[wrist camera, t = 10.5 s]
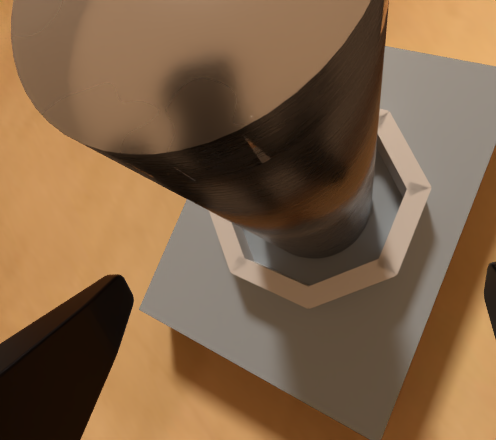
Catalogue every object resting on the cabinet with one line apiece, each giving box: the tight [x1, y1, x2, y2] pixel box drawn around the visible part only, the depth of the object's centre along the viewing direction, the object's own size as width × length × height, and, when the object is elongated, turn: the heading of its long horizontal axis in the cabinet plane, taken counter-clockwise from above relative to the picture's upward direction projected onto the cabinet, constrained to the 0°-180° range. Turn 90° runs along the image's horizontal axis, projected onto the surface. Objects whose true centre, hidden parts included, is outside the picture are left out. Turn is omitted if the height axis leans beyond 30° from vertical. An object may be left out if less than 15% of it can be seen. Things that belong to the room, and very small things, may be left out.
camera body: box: [139, 46, 496, 440], centre depth 17 cm, size 16×12×4 cm
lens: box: [11, 0, 389, 259], centre depth 10 cm, size 5×5×13 cm
